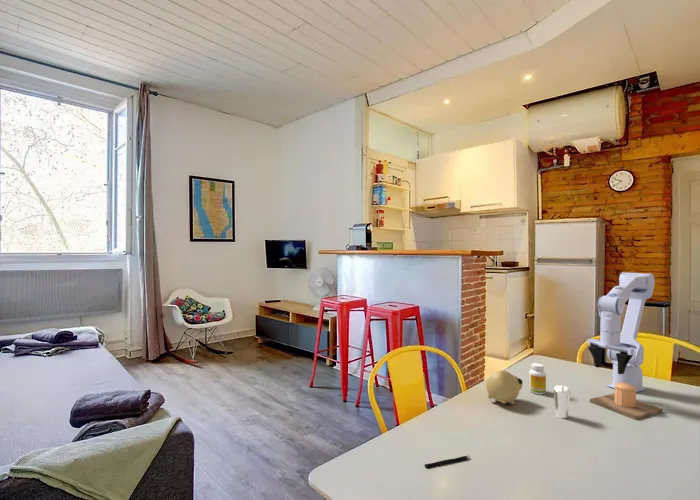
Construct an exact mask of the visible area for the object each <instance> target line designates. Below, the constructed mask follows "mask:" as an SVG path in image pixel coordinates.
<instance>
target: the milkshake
mask: <svg viewBox="0 0 700 500" xmlns="http://www.w3.org/2000/svg"><path fill="white" fill-rule="evenodd" d="M553 394H554V401H555V402H554V403H555V404H554V406H555V408H554V409H555V416H556V417H557V418H560V419H567V418H569V409H570V401H571V395H572V391H571V389H570V388H569V387H568V386H565V385H558V384H557V385H555V386H554V387H553Z"/></svg>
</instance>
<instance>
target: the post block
mask: <svg viewBox="0 0 700 500" xmlns="http://www.w3.org/2000/svg"><path fill="white" fill-rule="evenodd" d="M614 398H615V392H614V393H610V394H606V395H601V396H597V397H596V396H595V397H593V398H589V403H592V404H594V405H597V406H600V407H602V408H604V409H607V410H609V411H612V412H613V413H614V412H615V413H617V414H619V415H622V416H625V417H628V418H630V419H633V420H640V419H642V418H647V417H649V416H653V415H657V414H661V413H663V408H661V407H658V406H655V405H652V404H649V403H646V402H644V401H641V400H638V399H636V407H633V408H631V407H624V406H620V405H618V404H616V403H615V402H614Z"/></svg>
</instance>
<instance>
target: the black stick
mask: <svg viewBox="0 0 700 500" xmlns="http://www.w3.org/2000/svg"><path fill="white" fill-rule="evenodd" d="M470 459H471V456H470V455H465V456H464V455H463V456H459V457H455V458H450V459H449V458H448V459H444V460H443V459H442V460H438V461H434V462H431V463H426V464H424V468H425V469H426V470H427V469H431V468H435V467H439V466H444V465H449V464H451V465H452V464H455V463H459V462H463V461H467V460H470Z"/></svg>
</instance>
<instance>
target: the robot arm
mask: <svg viewBox="0 0 700 500" xmlns="http://www.w3.org/2000/svg"><path fill="white" fill-rule="evenodd" d="M655 281H656V280H655V277H654V275H653V273H650V272H649V273H642V272H626V271H622V272H621V273H620V274H619V278H618V282H619V285H615V286H613V288H612V289H611V290H610V291H609V292H608V293H607V294H606V295H602V296H599V298H598V301H597V309H598V316H599V317H600V323H599V325H600V327H599V331H600V332H599V333H600V334H599V337H600V339H594V338H588V339H587V345H588V347H587V348H588V350H589V352H590V355H591V356H592V359H593V361H594V362H593V363H594V365H595V366H594V367H595V368H601V367H602V358H603V353H604V350H605V349H607V351H606V352H607V358H608V359H609V361H610V362H611V363H612V383H609V384H607V385H606V387H608V388H612V389H613V390H615V383H617V382H622V383H628V384H631V385H634V386H635V387H636V393H638V392H641V391H645V390H646V388H644V387H643V374H644V373H643V369H642V368H641V366H642V365H643V363H644V360H645V359H644V358H645V354H644V353H645V348H644V346H643V344H642V343H640V342H639V341H638V340H637V338H638V333H639V330H640V326H641V320H642V316H643V311H644V307H645V303H646V302H647V301H646V300H648V299H651V298H652V296H653V293H654V290H655V289H654V288H655V285H656V284H655ZM627 301H628V304H627V307H626V302H627ZM625 307H626V313H625V316H624V321H623V324H622V326H621V322H622V321H621V320H622V319H621V317H622V314H623V312H624V310H625ZM621 328H622V329H621Z"/></svg>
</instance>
